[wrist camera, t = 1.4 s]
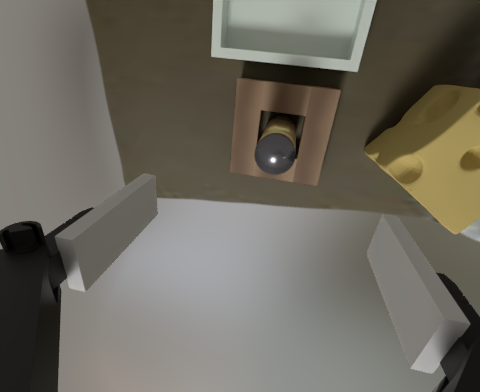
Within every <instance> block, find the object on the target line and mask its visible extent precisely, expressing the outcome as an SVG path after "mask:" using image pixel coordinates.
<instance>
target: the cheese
mask: <svg viewBox="0 0 480 392" xmlns="http://www.w3.org/2000/svg"><path fill="white" fill-rule="evenodd" d="M364 151H365V153H366V154H367V155H368V156H369V157H370V158H371V159H372V160H374V161H375V162H376V163H377V164H378V166H379V167H380V168H382V169H383V170H384V171H385V172H386V173H388V174H389V175H390V176H391V177H392V178H394V179H395V180H396V181H397V182H398V183H399V184H400V185H401V186H402V187H404V188H405V189H406V190H407V191H408V192H409V193H410V194H411V195H412V196H413V197H414V198H415V199H416V200H418V201H419V202H420V203H421V204H422V205H423V206H424V207H425V208H426V209H427V210H428V211H429V212H430V213H431V214H432V215H433V216H434V217H435V218H436V219H437V220H438V221H439V222H440V223H441V224H442V225H443V226H445V227H446V228H447V229H448V230H449V231H451V232H452V233H454V234H458V233H460V232H461V231H462V230H464V229H465V228H467V227H468V226H469V225H471V224H472V223H473V222H475V221H476V220H477V219H478V218H480V89H478V88H469V87H462V86H455V85H435V86H433V87H432V88H431V89H430V90H429V91H428V92H427V93H426V94H425V95H424V96H422V97H421V98H420V99H419V100H418V101H417V102H416V103H415V104H414V105H413V106H412V107H411V108H410V109H409V110H408V111H407V112H406V113H405V114H404V116H403V118H402V119H401V121H400V122H399V123H398V124H397V125H395V126H394V127H392V128H388V129H386V130H385V131H384V132H383V133H381V134H380V135H379V136H378V137H377V138H375V139H374V140H373V141H372V142H370V143H369V144H368V145H367V146H366V147H365V148H364Z"/></svg>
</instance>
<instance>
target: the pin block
mask: <svg viewBox="0 0 480 392" xmlns="http://www.w3.org/2000/svg"><path fill="white" fill-rule="evenodd" d="M340 92H341V90H340V89H337V88H328V87H319V86H311V85H302V84H293V83H284V82H275V81H266V80H258V79H249V78H237V89H236V101H235V114H234V126H233V139H232V151H231V164H230V172H233V173H240V174H246V175H252V176H258V177H264V178H271V179H277V180H283V181H289V182H295V183H302V184H308V185H314V186H317V183H318V179H319V175H320V171H321V167H322V163H323V159H324V155H325V152H326V148H327V144H328V140H329V136H330V132H331V128H332V124H333V120H334V116H335V112H336V108H337V104H338V100H339V96H340ZM263 111H271V112H279V113H286V114H294V115H302V116H305V117H304V122H303V127H302V132H301V137H300V142H299V147H298V151H297V154H296V156H295V161H294V164H293V165H292V167H291V168H290V169H289V170H288V171H286V172H285V173H282V174H278V175H272V174H268V173H266V172H264V171H262V170H261V169H260V168H259V167H258V165H257V164H256V161H255V156H254V153H255V149H256V146H257V144H258V142H259V135H260V128H261V120H262V112H263Z"/></svg>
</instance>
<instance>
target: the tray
mask: <svg viewBox="0 0 480 392" xmlns="http://www.w3.org/2000/svg"><path fill="white" fill-rule="evenodd" d="M376 2H377V0H213V25H212V52H211V57H219V58H228V59H238V60H248V61H257V62H267V63H276V64H286V65H296V66H305V67H315V68H324V69H334V70H343V71H354V72H357V71H358V68H359V64H360V60H361V57H362V53H363V49H364V46H365V42H366V38H367V35H368V31H369V27H370V24H371V20H372V16H373V13H374V9H375V5H376Z"/></svg>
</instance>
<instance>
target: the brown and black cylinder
mask: <svg viewBox="0 0 480 392" xmlns="http://www.w3.org/2000/svg"><path fill="white" fill-rule="evenodd" d="M254 156H255V161H256V164H257V165H258V167H259V168H260V169H261V170H262V171H264V172H266V173H268V174H272V175H278V174H282V173H285V172H286V171H288V170H289V169H290V168H291V167H292V165H293V164H294V161H295V156H296V128H295V125H294V123H293V121H292V120H291V119H290V118H288V117H285V116H277V117H274V118H273V119H271V120H270V121H269V122H268V124H267V126H266V128H265V130H264V132H263V134H262V136H261V138H260V140H259V142H258V144H257V146H256V149H255V153H254Z"/></svg>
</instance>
